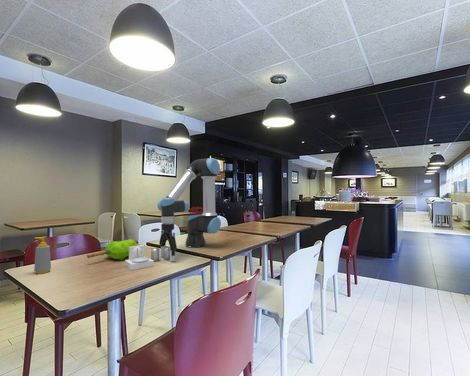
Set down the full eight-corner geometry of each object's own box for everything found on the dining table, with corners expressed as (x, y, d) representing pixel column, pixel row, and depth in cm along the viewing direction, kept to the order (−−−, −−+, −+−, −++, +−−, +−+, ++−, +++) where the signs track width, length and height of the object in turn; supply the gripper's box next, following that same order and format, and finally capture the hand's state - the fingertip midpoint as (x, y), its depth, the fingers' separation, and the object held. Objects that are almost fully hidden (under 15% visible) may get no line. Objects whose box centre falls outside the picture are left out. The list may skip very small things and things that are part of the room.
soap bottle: (33, 271, 133) (33, 236, 133) (50, 269, 137) (50, 235, 137) (34, 275, 127) (34, 238, 128) (51, 272, 132) (51, 236, 132)
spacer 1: (157, 259, 157) (157, 247, 157) (160, 260, 153) (160, 248, 153) (149, 260, 154) (149, 248, 154) (152, 262, 150) (152, 250, 151)
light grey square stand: (146, 261, 151) (146, 244, 151) (154, 266, 142) (154, 247, 142) (124, 265, 143) (125, 247, 144) (131, 270, 134) (131, 251, 135)
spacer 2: (169, 257, 160) (169, 246, 160) (173, 259, 156) (173, 247, 156) (162, 259, 157) (162, 247, 157) (165, 260, 153) (165, 248, 153)
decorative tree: (80, 245, 151) (129, 236, 175) (81, 263, 151) (129, 252, 175) (95, 249, 140) (144, 239, 164) (95, 268, 140) (144, 256, 164)
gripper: (153, 221, 164) (153, 256, 164) (170, 225, 145) (170, 264, 145) (165, 221, 169) (165, 254, 168) (183, 224, 150) (182, 262, 149)
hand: (167, 259), depth 156 cm, fingers open, 12 cm apart
